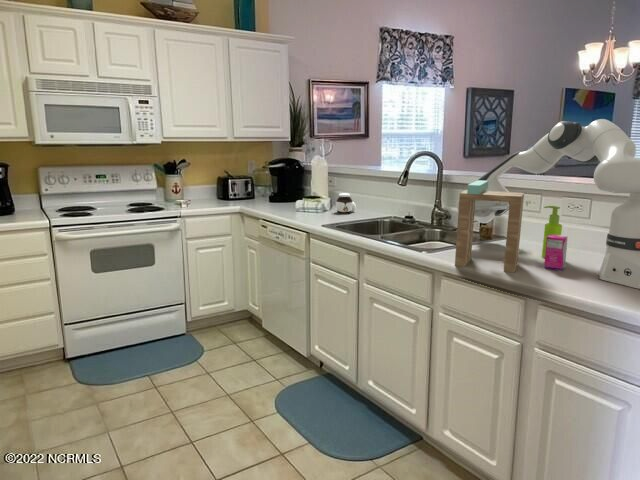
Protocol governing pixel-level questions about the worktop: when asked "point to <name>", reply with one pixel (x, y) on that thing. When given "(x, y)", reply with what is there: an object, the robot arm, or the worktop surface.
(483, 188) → the bar
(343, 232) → the worktop surface
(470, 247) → the bridge
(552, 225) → the soap dispenser
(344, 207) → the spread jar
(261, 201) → the worktop surface
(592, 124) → the robot arm
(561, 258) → the supplement box
